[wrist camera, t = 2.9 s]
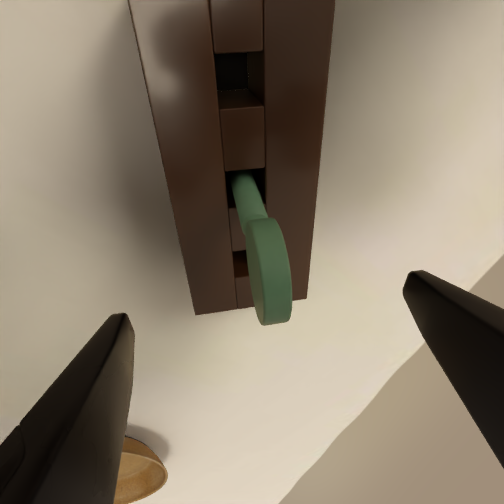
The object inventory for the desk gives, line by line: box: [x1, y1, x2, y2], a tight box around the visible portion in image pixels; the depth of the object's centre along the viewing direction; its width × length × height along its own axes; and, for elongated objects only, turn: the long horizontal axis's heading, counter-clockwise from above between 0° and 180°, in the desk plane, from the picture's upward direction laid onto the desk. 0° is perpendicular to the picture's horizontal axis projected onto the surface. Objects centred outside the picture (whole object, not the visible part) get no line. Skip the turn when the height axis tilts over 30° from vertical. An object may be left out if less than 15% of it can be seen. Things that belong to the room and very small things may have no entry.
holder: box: [128, 0, 335, 315], centre depth 15 cm, size 6×15×4 cm, turn 2°
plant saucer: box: [114, 437, 168, 504], centre depth 32 cm, size 15×15×3 cm
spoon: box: [228, 169, 292, 326], centre depth 13 cm, size 1×4×10 cm, turn 2°
